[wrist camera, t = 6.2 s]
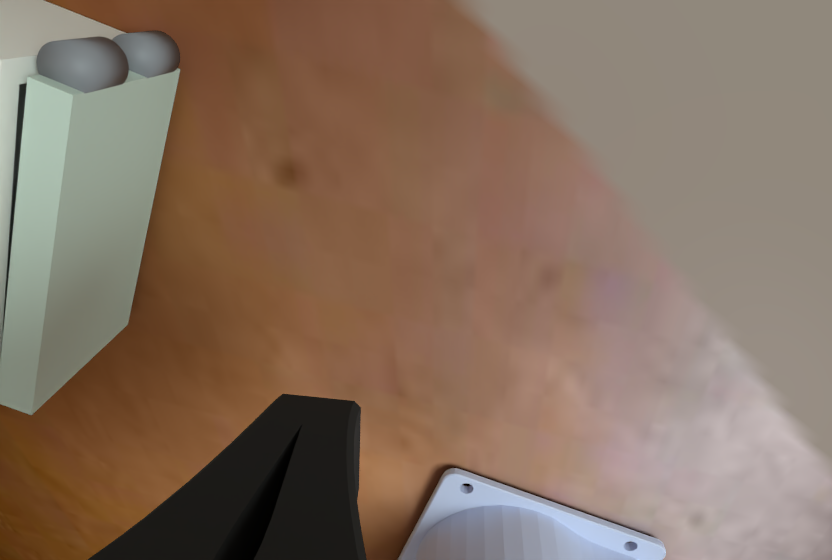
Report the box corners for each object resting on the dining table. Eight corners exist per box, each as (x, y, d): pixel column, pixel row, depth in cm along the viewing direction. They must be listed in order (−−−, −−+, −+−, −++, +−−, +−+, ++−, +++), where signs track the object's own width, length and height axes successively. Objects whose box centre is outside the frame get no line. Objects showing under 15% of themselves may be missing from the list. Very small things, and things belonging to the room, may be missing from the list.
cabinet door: (189, 39, 17) (83, 55, 12) (130, 325, 22) (34, 416, 17) (149, 23, 17) (26, 32, 12) (98, 313, 21) (-7, 401, 17)
